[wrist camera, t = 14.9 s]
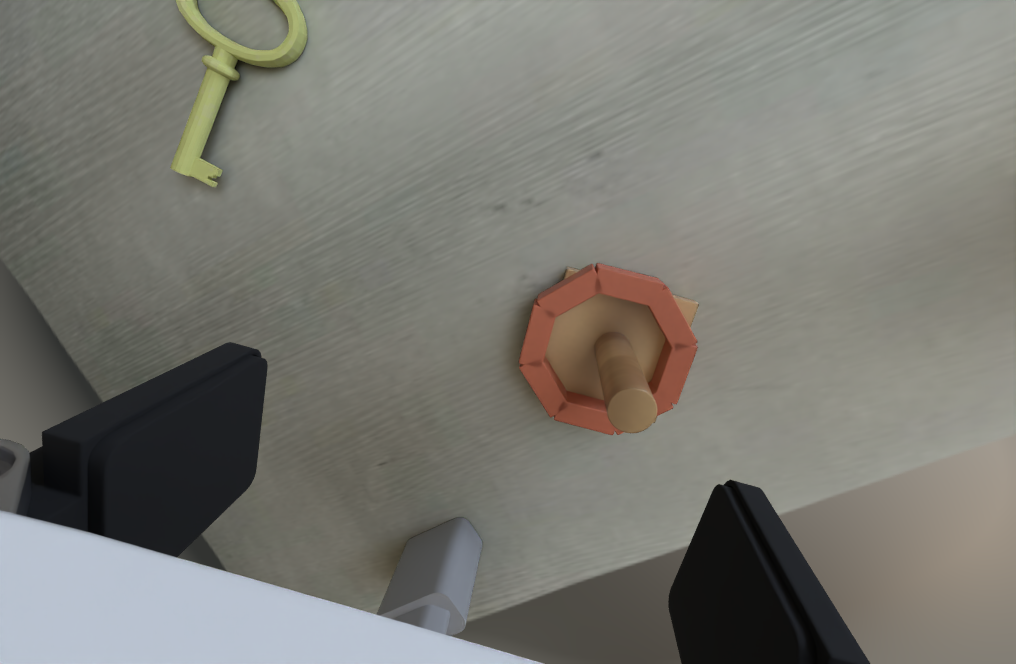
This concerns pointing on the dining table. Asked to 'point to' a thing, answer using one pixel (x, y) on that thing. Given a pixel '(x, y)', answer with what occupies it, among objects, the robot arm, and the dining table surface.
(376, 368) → the dining table surface
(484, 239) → the dining table surface
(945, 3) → the dining table surface
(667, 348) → the ring
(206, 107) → the key
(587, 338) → the peg stand
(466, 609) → the power adapter
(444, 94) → the dining table surface
